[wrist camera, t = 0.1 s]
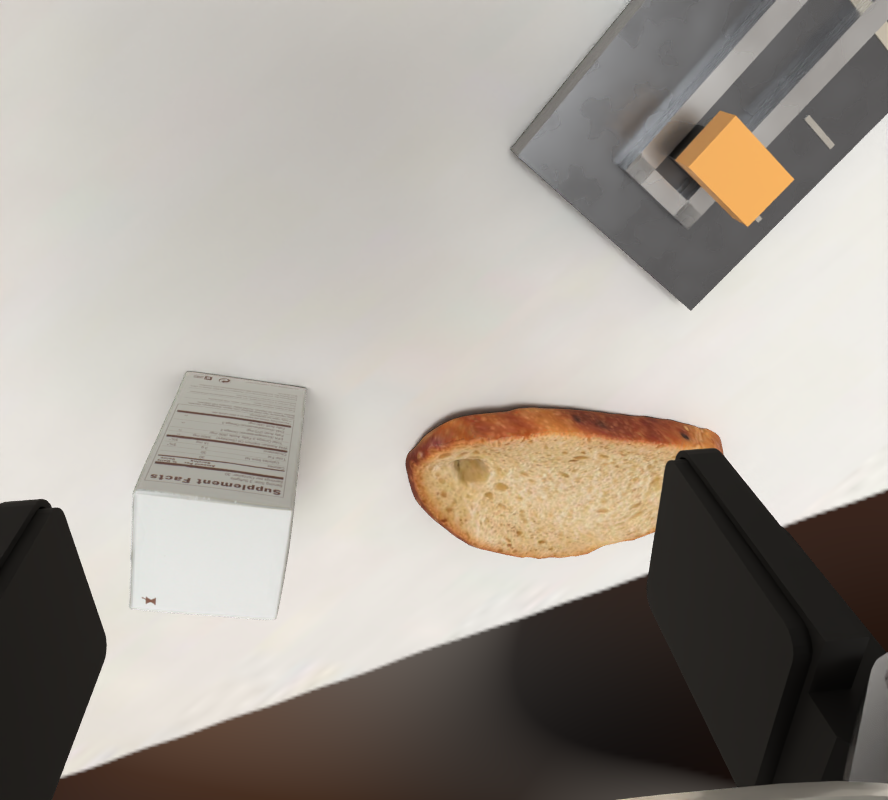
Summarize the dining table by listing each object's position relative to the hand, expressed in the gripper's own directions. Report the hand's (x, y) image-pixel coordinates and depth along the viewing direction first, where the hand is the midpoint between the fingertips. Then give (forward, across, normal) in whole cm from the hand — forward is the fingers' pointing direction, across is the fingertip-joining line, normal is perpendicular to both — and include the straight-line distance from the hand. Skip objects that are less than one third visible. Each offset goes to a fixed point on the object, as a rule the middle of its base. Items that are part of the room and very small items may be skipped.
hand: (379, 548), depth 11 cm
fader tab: (+29, -17, 0) cm, 34 cm away
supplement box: (+31, +9, +16) cm, 36 cm away
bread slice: (+32, -12, +20) cm, 40 cm away
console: (+31, -22, -6) cm, 38 cm away
